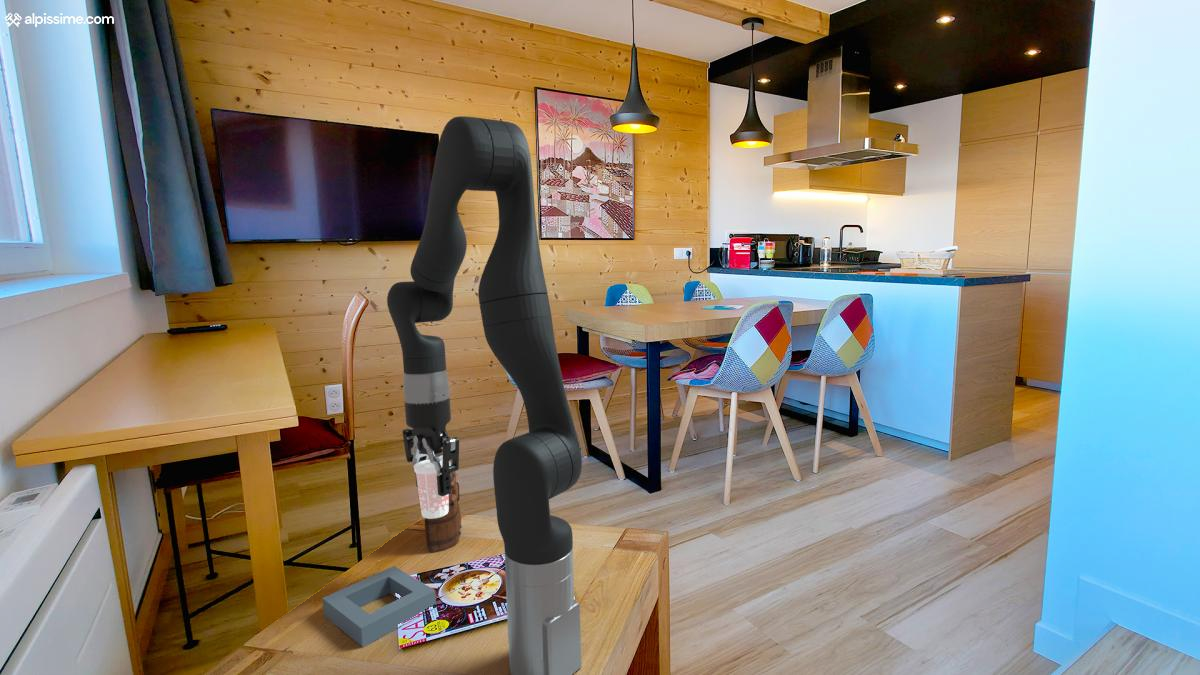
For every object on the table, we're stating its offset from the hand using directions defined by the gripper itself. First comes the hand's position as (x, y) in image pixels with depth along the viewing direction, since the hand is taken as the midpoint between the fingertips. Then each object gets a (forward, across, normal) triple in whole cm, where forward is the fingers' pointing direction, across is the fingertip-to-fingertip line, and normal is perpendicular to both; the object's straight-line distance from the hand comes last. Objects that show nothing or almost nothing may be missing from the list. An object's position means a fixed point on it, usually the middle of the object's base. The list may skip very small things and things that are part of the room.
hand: (433, 490), depth 100 cm
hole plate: (+17, -1, +12) cm, 20 cm away
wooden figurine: (+17, +12, -10) cm, 23 cm away
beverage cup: (+4, 0, 0) cm, 4 cm away
